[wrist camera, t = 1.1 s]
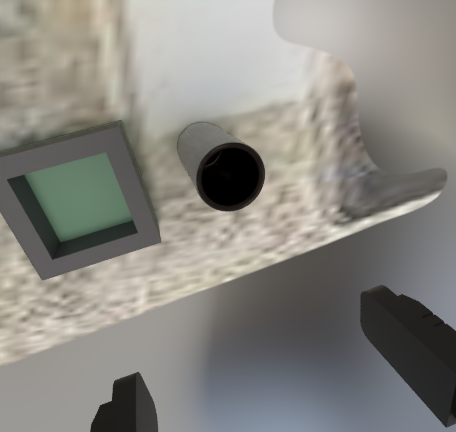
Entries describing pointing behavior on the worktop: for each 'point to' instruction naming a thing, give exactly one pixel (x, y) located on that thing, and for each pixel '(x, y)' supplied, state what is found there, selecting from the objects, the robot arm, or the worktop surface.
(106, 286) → the worktop surface
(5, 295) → the worktop surface
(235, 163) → the dark grey cylinder
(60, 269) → the socket board
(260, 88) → the worktop surface
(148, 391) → the robot arm
